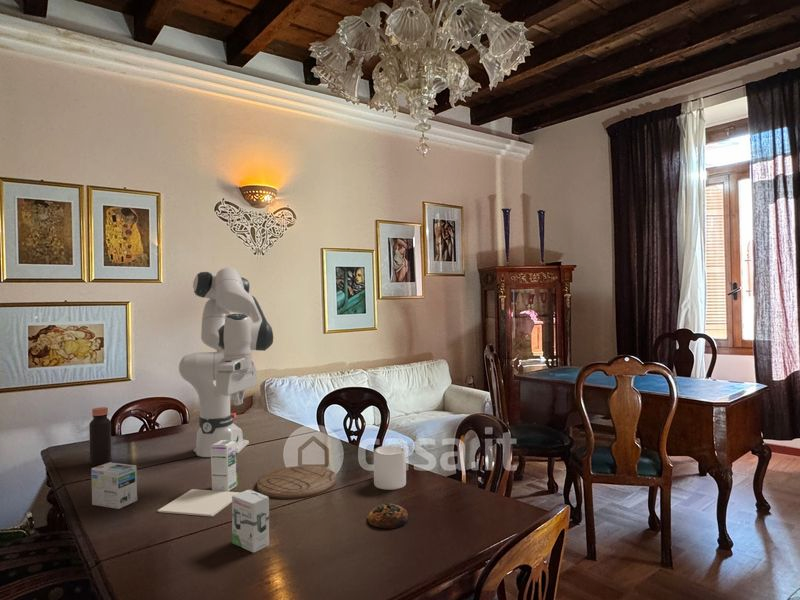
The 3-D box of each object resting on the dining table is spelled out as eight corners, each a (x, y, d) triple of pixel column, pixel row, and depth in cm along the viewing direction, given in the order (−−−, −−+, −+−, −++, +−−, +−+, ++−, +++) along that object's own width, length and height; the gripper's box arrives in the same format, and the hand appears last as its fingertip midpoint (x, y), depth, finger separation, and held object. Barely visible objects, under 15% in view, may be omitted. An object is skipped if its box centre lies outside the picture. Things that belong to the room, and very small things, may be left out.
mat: (192, 490, 157) (192, 489, 157) (242, 494, 153) (242, 492, 153) (157, 512, 141) (157, 510, 141) (212, 516, 138) (212, 514, 138)
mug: (367, 477, 167) (366, 444, 167) (396, 473, 171) (395, 441, 171) (379, 491, 154) (379, 456, 154) (410, 486, 158) (410, 452, 158)
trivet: (299, 466, 180) (298, 461, 180) (352, 480, 165) (352, 474, 165) (240, 488, 159) (240, 482, 159) (295, 506, 145) (295, 500, 145)
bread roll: (394, 533, 127) (392, 512, 127) (359, 529, 133) (357, 509, 133) (417, 518, 136) (415, 499, 137) (383, 515, 142) (381, 496, 143)
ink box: (230, 543, 122) (230, 494, 122) (247, 535, 126) (247, 488, 126) (253, 553, 117) (252, 502, 117) (270, 545, 121) (269, 496, 121)
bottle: (85, 464, 183) (84, 409, 183) (102, 459, 190) (102, 406, 190) (98, 466, 181) (97, 411, 181) (115, 461, 187) (114, 407, 187)
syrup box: (228, 492, 155) (227, 445, 155) (210, 491, 156) (210, 444, 156) (237, 485, 161) (237, 440, 161) (221, 484, 162) (220, 439, 162)
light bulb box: (138, 500, 150) (137, 464, 150) (118, 509, 143) (118, 472, 143) (110, 496, 153) (110, 461, 153) (90, 505, 147) (90, 468, 147)
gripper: (244, 359, 178) (245, 398, 178) (212, 366, 158) (212, 410, 158) (261, 359, 177) (261, 398, 177) (230, 366, 157) (230, 411, 157)
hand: (238, 404), depth 167 cm, fingers closed
